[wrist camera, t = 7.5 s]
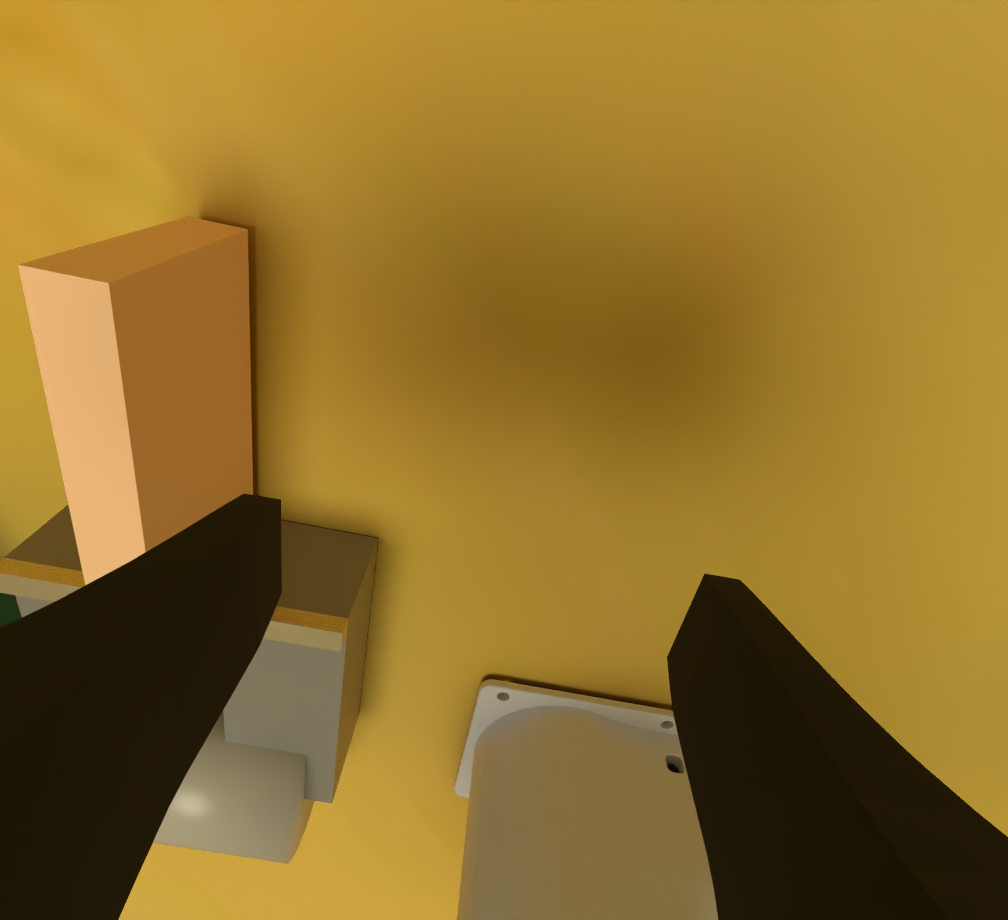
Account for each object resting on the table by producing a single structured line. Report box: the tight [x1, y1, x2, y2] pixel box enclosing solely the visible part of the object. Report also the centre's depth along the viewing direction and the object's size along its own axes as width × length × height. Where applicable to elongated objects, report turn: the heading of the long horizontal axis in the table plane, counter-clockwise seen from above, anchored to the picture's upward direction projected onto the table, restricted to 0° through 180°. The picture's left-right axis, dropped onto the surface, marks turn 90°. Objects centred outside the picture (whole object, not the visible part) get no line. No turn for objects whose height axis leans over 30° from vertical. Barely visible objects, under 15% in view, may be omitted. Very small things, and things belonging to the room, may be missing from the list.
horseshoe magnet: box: [0, 505, 379, 864], centre depth 22 cm, size 13×10×6 cm
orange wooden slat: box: [18, 217, 253, 585], centre depth 16 cm, size 10×2×6 cm, turn 169°
